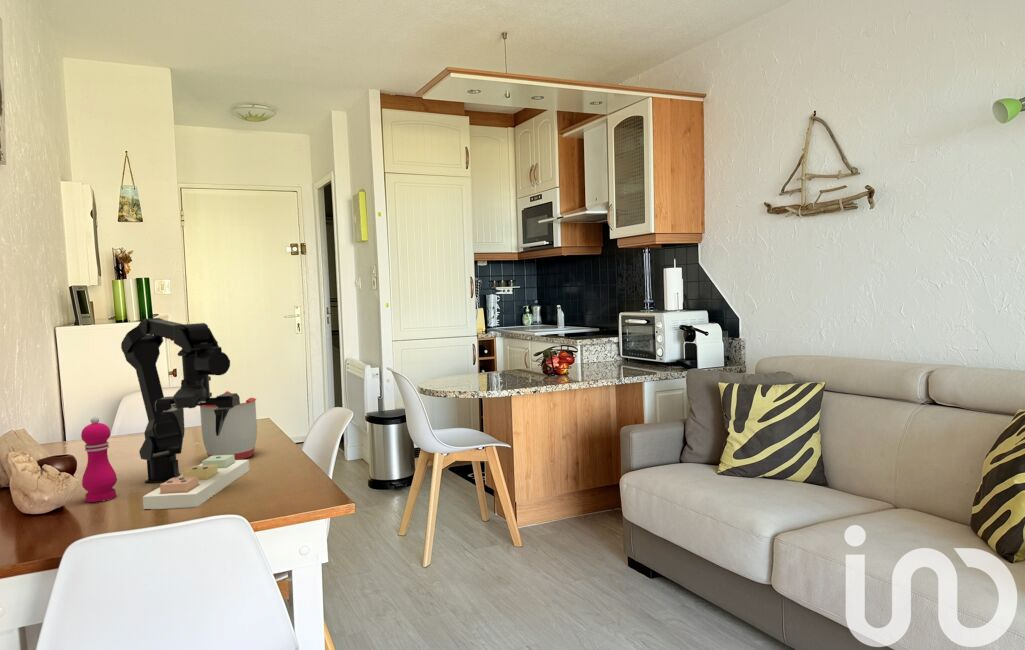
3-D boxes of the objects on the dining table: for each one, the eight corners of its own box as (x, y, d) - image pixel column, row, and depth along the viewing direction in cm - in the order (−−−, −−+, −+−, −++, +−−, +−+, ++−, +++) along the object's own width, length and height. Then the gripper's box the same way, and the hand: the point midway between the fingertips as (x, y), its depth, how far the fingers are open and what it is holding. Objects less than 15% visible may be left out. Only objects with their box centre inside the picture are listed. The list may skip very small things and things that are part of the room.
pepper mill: (93, 505, 161) (86, 420, 160) (77, 501, 165) (70, 418, 164) (124, 496, 167) (117, 415, 166) (108, 493, 171) (102, 413, 170)
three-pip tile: (160, 494, 157) (159, 483, 157) (173, 487, 163) (172, 476, 163) (186, 493, 157) (186, 482, 157) (198, 486, 163) (197, 475, 163)
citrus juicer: (272, 450, 211) (268, 385, 210) (241, 465, 194) (236, 394, 193) (226, 450, 214) (222, 387, 213) (191, 465, 197) (186, 395, 196)
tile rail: (143, 509, 155) (142, 496, 155) (205, 472, 187) (204, 461, 187) (197, 507, 155) (196, 494, 155) (249, 470, 187) (248, 459, 187)
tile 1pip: (202, 469, 179) (202, 460, 179) (212, 464, 185) (211, 454, 185) (225, 468, 179) (225, 459, 179) (234, 462, 185) (234, 453, 185)
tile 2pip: (183, 481, 168) (182, 471, 168) (194, 475, 174) (193, 465, 174) (207, 480, 168) (206, 470, 168) (217, 473, 174) (217, 464, 174)
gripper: (141, 380, 162) (146, 445, 162) (221, 376, 162) (226, 441, 163) (163, 374, 173) (167, 435, 174) (238, 370, 174) (242, 432, 174)
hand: (200, 436), depth 171 cm, fingers open, 8 cm apart
